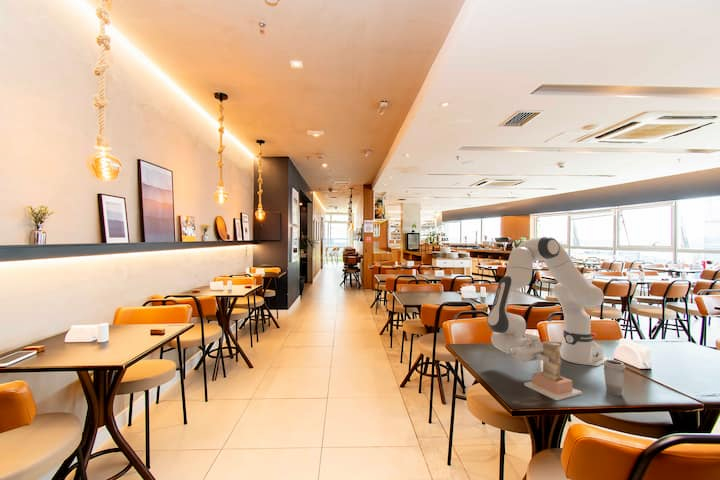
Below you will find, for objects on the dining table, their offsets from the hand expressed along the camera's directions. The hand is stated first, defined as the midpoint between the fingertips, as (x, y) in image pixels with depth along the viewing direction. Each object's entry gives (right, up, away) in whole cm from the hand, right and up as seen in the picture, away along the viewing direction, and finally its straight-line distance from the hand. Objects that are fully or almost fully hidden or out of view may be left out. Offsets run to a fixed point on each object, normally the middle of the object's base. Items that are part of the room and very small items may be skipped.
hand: (553, 358), depth 127 cm
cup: (+22, -13, -2) cm, 26 cm away
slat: (0, -8, +1) cm, 8 cm away
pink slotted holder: (0, -12, +1) cm, 12 cm away
